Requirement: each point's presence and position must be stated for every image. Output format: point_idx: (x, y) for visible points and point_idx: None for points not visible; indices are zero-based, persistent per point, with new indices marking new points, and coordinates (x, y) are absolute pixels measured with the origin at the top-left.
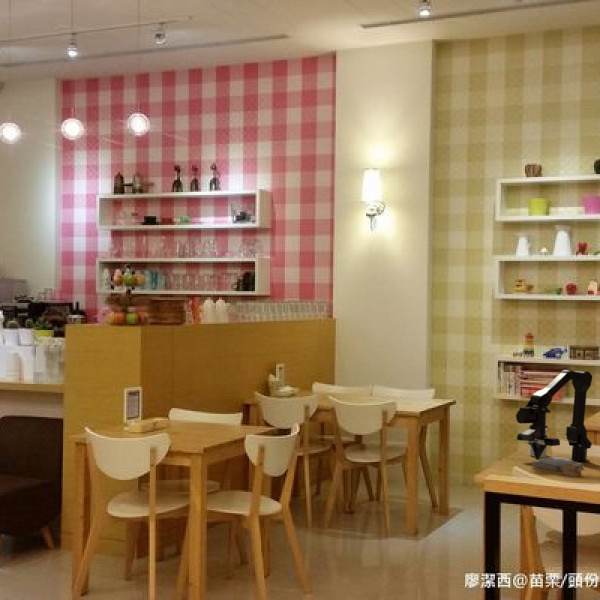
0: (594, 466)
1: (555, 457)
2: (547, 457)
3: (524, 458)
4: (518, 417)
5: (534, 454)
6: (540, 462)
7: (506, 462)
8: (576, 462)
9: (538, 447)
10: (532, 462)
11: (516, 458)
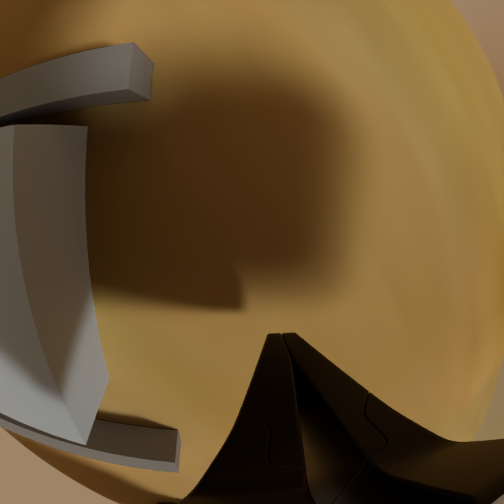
0: (58, 470)
1: (29, 400)
2: (25, 321)
3: (447, 369)
4: None
5: (333, 364)
6: (19, 103)
7: (459, 35)
8: (14, 431)
9: (228, 499)
10: (139, 48)
11: (487, 313)
